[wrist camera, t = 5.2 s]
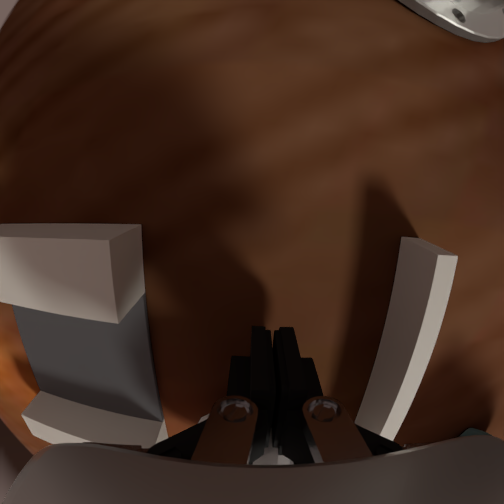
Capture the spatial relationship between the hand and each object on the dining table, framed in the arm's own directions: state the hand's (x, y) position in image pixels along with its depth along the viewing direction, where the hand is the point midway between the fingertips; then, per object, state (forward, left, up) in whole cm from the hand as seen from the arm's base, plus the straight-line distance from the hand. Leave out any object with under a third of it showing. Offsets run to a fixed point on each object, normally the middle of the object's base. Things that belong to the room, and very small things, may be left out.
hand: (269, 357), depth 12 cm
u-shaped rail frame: (+9, -4, -1) cm, 10 cm away
